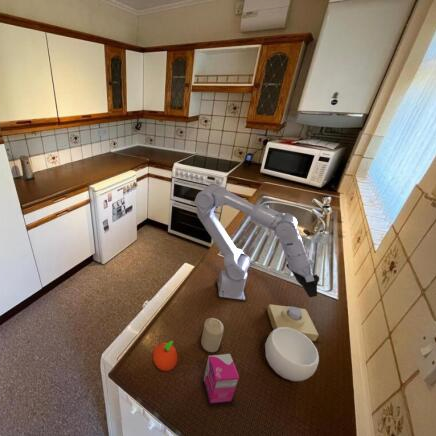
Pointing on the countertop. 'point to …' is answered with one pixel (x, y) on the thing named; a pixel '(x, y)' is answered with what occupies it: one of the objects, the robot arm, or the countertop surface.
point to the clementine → (165, 356)
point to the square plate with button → (292, 321)
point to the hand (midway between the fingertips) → (307, 289)
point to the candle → (212, 334)
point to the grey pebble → (294, 313)
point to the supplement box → (220, 378)
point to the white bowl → (291, 354)
